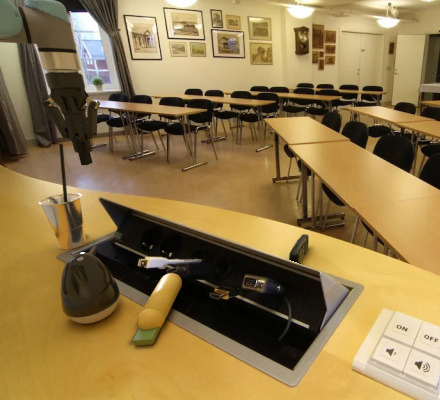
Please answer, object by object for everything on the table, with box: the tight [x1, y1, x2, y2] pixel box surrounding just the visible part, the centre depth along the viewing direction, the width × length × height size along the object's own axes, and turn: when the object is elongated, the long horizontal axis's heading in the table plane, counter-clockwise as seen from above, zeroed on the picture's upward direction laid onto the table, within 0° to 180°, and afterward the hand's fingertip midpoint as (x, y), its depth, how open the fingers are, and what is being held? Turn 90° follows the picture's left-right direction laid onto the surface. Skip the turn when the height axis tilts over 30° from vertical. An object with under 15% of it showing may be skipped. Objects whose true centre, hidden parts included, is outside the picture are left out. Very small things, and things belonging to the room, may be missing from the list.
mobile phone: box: [288, 233, 310, 264], centre depth 93 cm, size 5×3×15 cm
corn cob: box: [132, 272, 183, 346], centre depth 70 cm, size 5×20×5 cm, turn 6°
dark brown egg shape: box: [59, 245, 121, 325], centre depth 68 cm, size 10×10×15 cm
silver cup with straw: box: [37, 143, 87, 251], centre depth 95 cm, size 11×11×30 cm
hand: (87, 164), depth 88 cm, fingers closed
